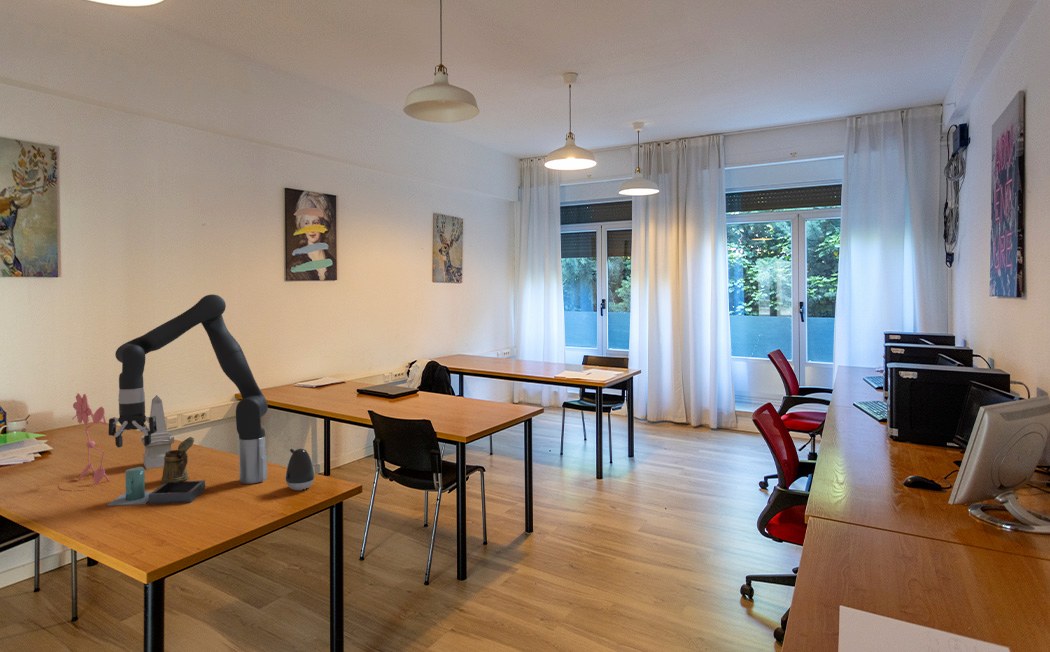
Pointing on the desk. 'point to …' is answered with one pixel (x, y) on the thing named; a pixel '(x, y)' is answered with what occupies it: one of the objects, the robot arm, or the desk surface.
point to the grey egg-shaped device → (299, 470)
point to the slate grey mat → (122, 500)
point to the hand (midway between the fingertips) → (133, 446)
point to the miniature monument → (157, 438)
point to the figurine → (83, 413)
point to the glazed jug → (135, 483)
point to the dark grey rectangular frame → (177, 492)
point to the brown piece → (177, 463)
